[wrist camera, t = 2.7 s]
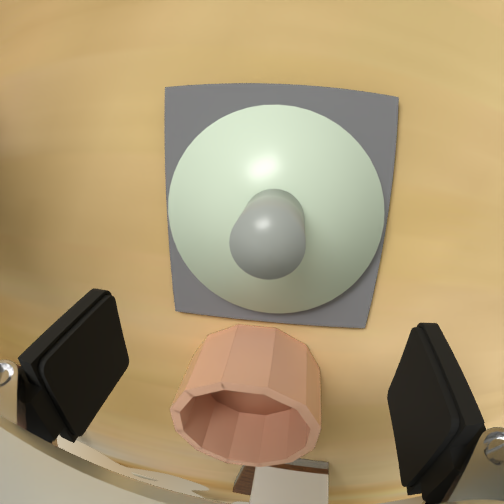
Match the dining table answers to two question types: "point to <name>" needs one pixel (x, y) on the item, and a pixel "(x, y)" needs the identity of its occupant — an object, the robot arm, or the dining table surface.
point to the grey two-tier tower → (285, 483)
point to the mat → (307, 97)
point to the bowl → (250, 397)
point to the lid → (276, 209)
